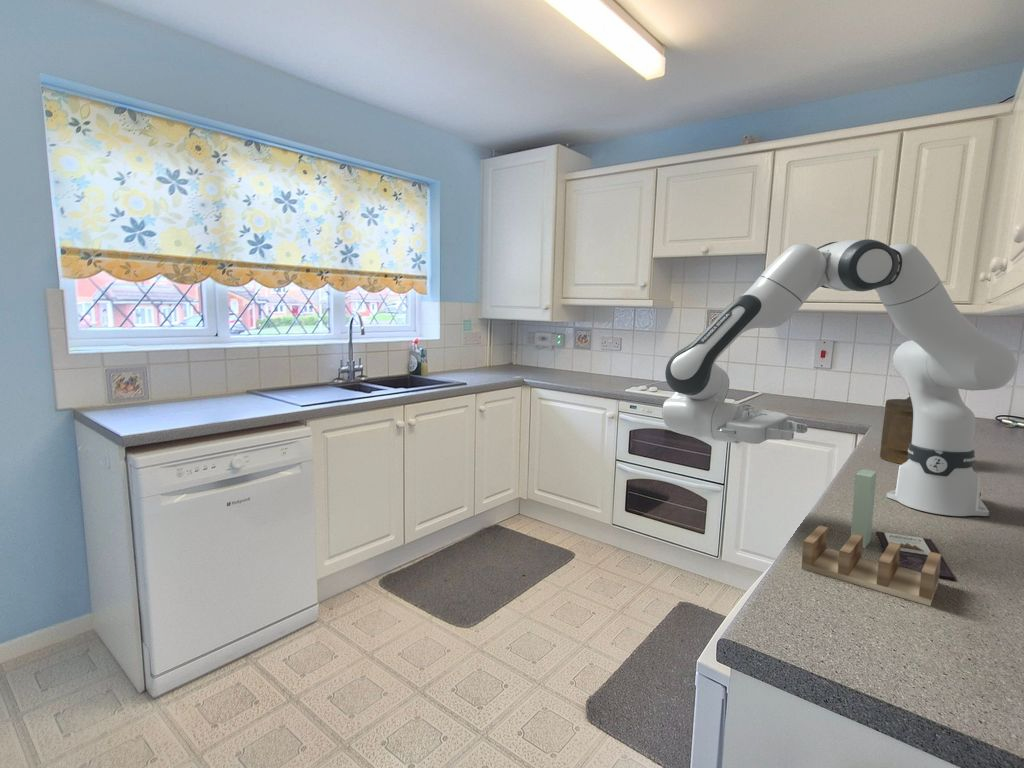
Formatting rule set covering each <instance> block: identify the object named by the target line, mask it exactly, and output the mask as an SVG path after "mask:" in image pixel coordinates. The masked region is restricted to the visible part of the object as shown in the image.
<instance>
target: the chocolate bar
mask: <svg viewBox="0 0 1024 768" xmlns="http://www.w3.org/2000/svg"><path fill="white" fill-rule="evenodd" d="M876 534H877V535H876ZM875 535H876V537H877V536H878V538H877V540H878V539H879V540H878V542H880V543H879V545H880V544H881V545H880V547H882V548H881V550H882V549H883V550H882V553H883V552H884V551H885V549H886V548H887V546H888V545H889V543H890V542H892V543H896V544H901V546H900V557H899V567H902V568H905V569H909V570H913V571H917V572H921V571H922V569H923V566H924V564H925V562H926V559H927V557H928V555H929V552H934V553H939V554H941V553H940V551H939V550H938V548H937V547H936V545H935V543H934V542H933V540H932V539H931V538H924V537H918V536H910V535H906V534H905V535H903V534H899V533H891V532H884V531H879V530H876V531H875ZM939 580H946V581H950V582H951V581H952V582H956V577H955V575H954V574H953V572H952V570H951V569H950V567H949V565H948V564H947V562H946V561H945V560H944V558H943V555H941V562H940V572H939Z"/></svg>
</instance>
